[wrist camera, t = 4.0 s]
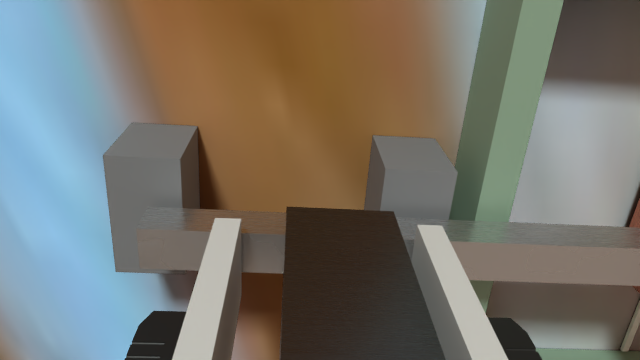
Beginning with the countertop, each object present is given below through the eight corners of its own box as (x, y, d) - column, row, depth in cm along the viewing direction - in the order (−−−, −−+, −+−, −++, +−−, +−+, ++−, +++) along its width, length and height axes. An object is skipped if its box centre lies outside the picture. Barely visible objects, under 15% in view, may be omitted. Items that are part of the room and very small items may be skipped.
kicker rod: (174, 251, 21) (33, 610, 10) (167, 107, 19) (-34, 370, 7) (659, 269, 22) (1026, 605, 11) (712, 137, 20) (1254, 398, 9)
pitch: (151, 358, 24) (131, 415, 21) (114, -89, 16) (75, -96, 14) (788, 373, 26) (849, 428, 23) (1018, -20, 18) (1152, -12, 16)
